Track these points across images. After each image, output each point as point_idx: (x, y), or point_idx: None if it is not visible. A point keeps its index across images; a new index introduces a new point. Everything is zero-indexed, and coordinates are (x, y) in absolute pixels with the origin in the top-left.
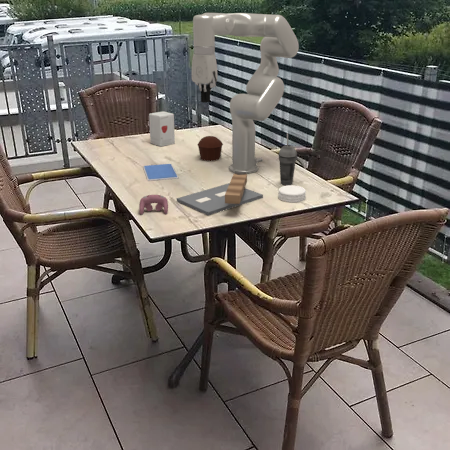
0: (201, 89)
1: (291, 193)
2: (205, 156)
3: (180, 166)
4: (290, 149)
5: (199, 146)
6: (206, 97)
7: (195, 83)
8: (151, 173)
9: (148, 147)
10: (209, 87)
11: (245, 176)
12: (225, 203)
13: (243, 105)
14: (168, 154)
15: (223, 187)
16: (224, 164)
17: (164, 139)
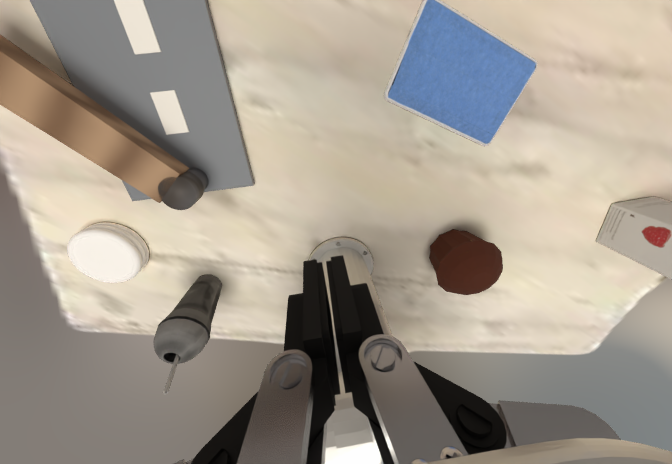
0: (362, 362)
1: (71, 243)
2: (450, 237)
3: (458, 160)
4: (155, 349)
5: (478, 240)
6: (287, 311)
7: (585, 418)
8: (466, 42)
9: (637, 175)
10: (194, 461)
11: (138, 187)
12: (87, 72)
13: (329, 420)
14: (553, 187)
15: (226, 149)
16: (395, 251)
17: (624, 221)
